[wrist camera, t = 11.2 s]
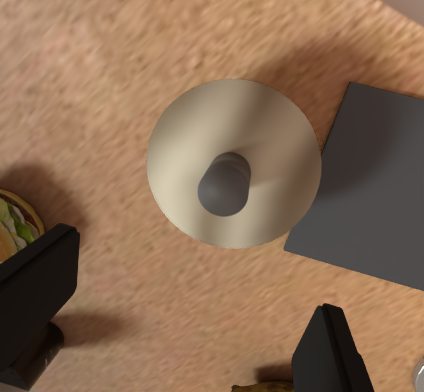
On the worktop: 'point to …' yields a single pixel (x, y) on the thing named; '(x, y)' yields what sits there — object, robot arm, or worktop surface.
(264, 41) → the worktop surface
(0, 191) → the food
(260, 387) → the potato
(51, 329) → the supplement bottle
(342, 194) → the mat
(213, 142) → the lid
